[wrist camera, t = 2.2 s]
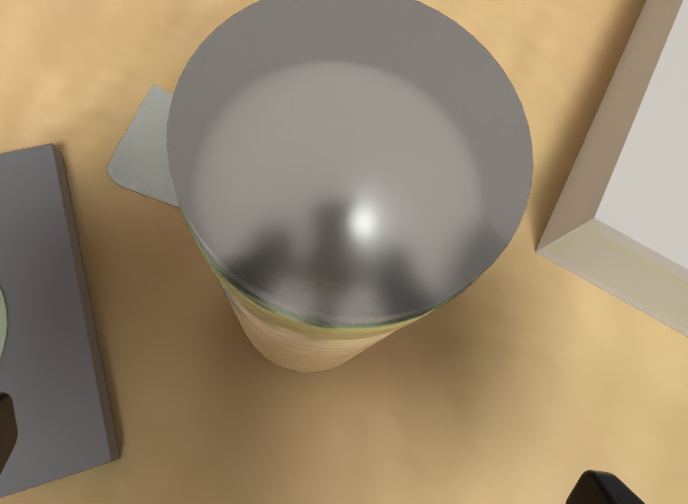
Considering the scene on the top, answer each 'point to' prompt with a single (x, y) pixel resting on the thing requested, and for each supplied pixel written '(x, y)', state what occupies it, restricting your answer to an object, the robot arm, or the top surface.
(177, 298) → the top surface
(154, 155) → the mounting bracket
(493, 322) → the top surface
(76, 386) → the pad
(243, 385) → the top surface
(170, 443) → the top surface
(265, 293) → the canister
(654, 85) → the disc drive
